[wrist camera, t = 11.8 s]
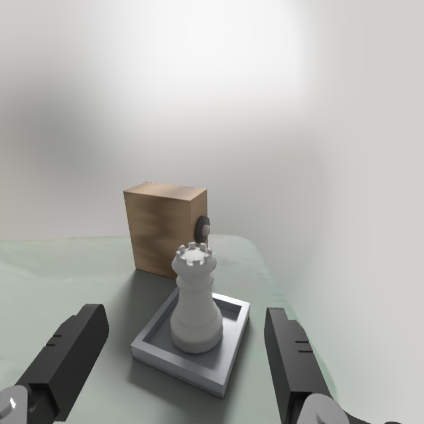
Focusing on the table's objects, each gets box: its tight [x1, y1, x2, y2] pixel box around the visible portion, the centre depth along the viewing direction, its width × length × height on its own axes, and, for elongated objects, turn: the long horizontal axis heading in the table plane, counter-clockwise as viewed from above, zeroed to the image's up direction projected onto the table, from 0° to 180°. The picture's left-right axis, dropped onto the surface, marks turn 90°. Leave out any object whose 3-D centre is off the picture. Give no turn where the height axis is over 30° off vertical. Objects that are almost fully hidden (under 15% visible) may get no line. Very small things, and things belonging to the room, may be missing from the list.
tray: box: [130, 286, 250, 399], centre depth 19 cm, size 7×7×2 cm
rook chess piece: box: [170, 242, 224, 354], centre depth 17 cm, size 4×4×8 cm
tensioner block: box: [123, 182, 210, 280], centre depth 26 cm, size 9×4×10 cm, turn 68°
